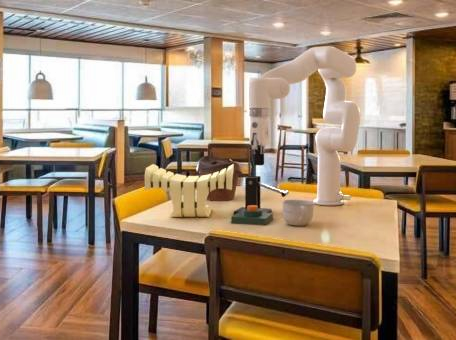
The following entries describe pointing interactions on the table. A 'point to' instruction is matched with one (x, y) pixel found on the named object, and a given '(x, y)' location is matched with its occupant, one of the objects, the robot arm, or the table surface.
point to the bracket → (252, 194)
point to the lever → (273, 189)
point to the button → (252, 208)
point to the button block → (252, 217)
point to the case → (217, 164)
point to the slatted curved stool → (188, 189)
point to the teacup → (298, 212)
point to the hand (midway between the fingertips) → (259, 164)
